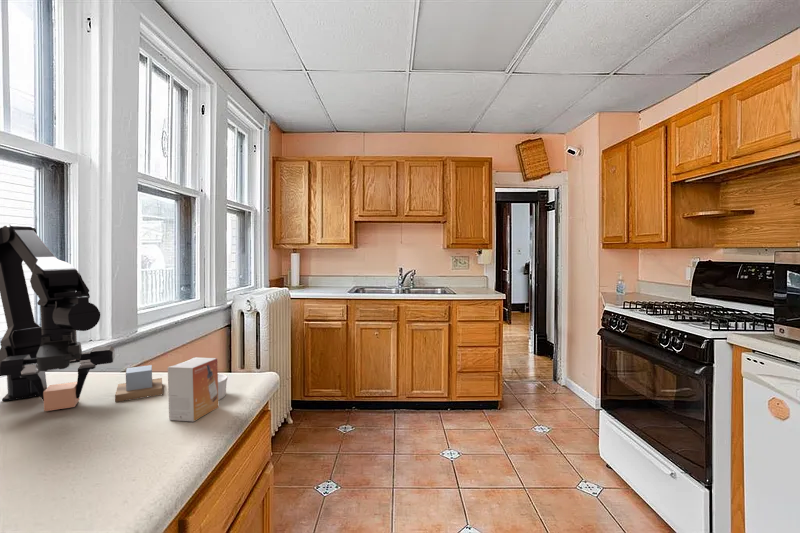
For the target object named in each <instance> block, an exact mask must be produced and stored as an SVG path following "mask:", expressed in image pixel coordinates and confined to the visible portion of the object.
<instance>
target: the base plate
mask: <svg viewBox="0 0 800 533" xmlns="http://www.w3.org/2000/svg"><path fill="white" fill-rule="evenodd" d="M163 393H164V392H163V378H162V377H159V378H154V379H153V378H152V387H151V388H144V389H137V390H130V391H126V382H123V383H118V384H117V387H116V390H115V395H114V399H115V401H114V402H115V403H117V402H124V400H125V401H130V400H129V399H131V400H137V398H138V399H143V397H144V398H148V397H147V396H151V397H155V395H157V396H162V395H161V394H163Z"/></svg>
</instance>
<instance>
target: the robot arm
mask: <svg viewBox="0 0 800 533" xmlns="http://www.w3.org/2000/svg"><path fill="white" fill-rule="evenodd" d="M37 233H38V232H37V229H36V227H34V226H31V225H30V224H29V225H28V224H8V225H4V226H1V227H0V299H1V304H2V307H3V312H4V313H3V314H4V317H5V324H6V326H7V327H6V328H7V329H6V331H5V333H4V335H3V336H2V338H1V340H0V377H6V382H7V383H6V384H7V394H5V395H4V397H2V398H1V401H2V402H5V401H6V402H7V401H13V400H22V399H27V398H35V397H39V396H40V399H41V400H42V402H43V403H44V395H43V392H44V391H45V390H46V389H47V388H48V385H47V384H48V383H47V376H46V372H47V371H49V370H51V371H52V370H64V369H65V370H66V369H67V368H68V367H70V364H75V363H79V366H78V368H77V381H76V382H77V389H76V396H77V398H79V399H80V397H81V394H82V391H83V388H84V385H85V382H86V379H87V377H88V374H89V372H90V370H94V369H96V367H97V366H98V365H107V364H112V363H114V361H115V358H116V355H115V354H116V352H115V347H113V346H112V345H109V346H100V347H93V348H92V349H91V350H90V351H89V352H83V349H82V343H81V341H77V340H78V339H77V338H78V337H77V331H80V332H85V331H89V330H92V329H93V328H94V327H96V326H97V325H98V323H99V322H100V319H101V312H100V310H99V308H98V306H97V305H95V304H94V303H91V302H90V300H89V299H90V297H91V296H90V293H89V292H90V289H89V288H88V286H87V285H86V283H85V281H84V280H83V277H82V275H81V273H80V272H79V271H78V270H77V268H76V267H74V266H73V265H72V264H70V263H69V262H68V261H64V260H62V259H61V260H60V259H58V258H57V257H56V256H55V254H54V253H53V252H52V251H51V250H50V249H49V247H48V246H47V245H46V243H44V241H43V240H42V239H41V238H40V237H39V235H38V234H37ZM23 262H24V263H25V265H26V266H27V268H28V269H29V270H30V272H31V276H30V280H29V282H30V286H31V289H32V290H33V292H34V293H35V295H36V296H37V297H38V298H39V299H38V300H37V303H36V304H37V306H40V307H39V308H40V309H39V310H40V325H39V324H38V323H37V322H36V321H35V318H34V313H33V309H32V304H31V299H30V294H29V289H28V286H27V281H26V277H25V273H24V269H23Z"/></svg>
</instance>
